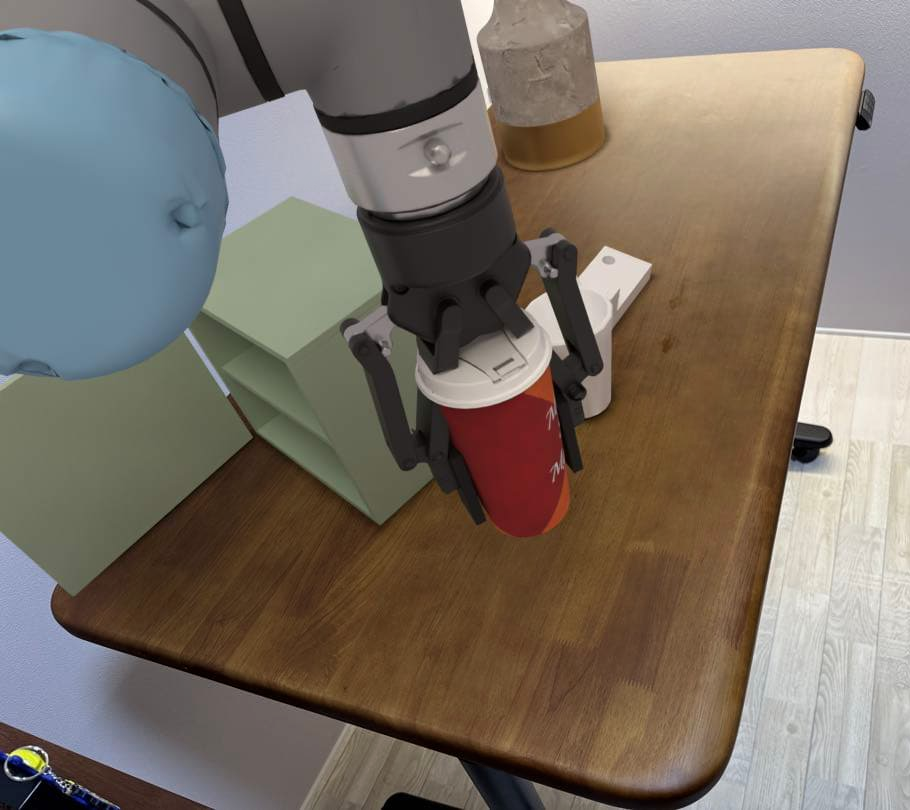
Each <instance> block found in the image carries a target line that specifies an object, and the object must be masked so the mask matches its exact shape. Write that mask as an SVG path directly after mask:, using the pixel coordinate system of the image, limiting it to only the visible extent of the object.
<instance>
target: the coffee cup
mask: <svg viewBox="0 0 910 810" xmlns="http://www.w3.org/2000/svg"><path fill="white" fill-rule="evenodd" d="M520 309H521V310H522V311H523V312H524V314H525V315H526V316H527V317H528V318H529V320H530V321H531V322H532V323H533V325H534V326H535V327H533V328H531V329H529V330H527V331H526V332H525V333H524V334H523V335H522V336H521V337H519V338H518V339H517V338H516V336H515V335H514V334H513V333H512V332H511V331H510V330H509V329H508V327H507V326H506V325H505V324H504V328H502V329H499V330H497V331H495V332H493V333H489V334H485V335H480V336H478V337H477V338H476V339H474V340H473V341H472V342H470V343H469V344H468V345H466V346H464V347H462V348H459V357H458V367H457V369H451V370H446V371H443V372H440V373H438V374H435V375H433V374H432V372H431V371H430V369H429V368H428V366H427V365H426V364H425V362H424V361H423V359H422V358H421V356H420V355H419V350H418V351H417V364H416V370H415V377H416V382H417V385H418V387H419V389H420V390H421V392H422V393H423V394H424V395H425V396H426V397H427V398H429V399H430V400H432V401H434V402H435V403H438V404H439V406H440V408H441V411H442V413H443V415H444V417H445V419H446V421H447V423H448V425H449V427H450V433H449V438H450V441H451V443H452V444H453V446H454V447H455V448H456V449H457V450H458V451H459V452H460V454H461V455H462V457H463V460H464V463H465V465H466V468H467V470H468V473H469V476H470V478H471V481H472V483H473V486H474V489H475V491H476V494H477V496H478V499H479V502H480V504H481V507H482V509H483V511H484V513H485V514H486V516H487V517H488V519H489V521H490V523H491V524H492V525H493V526H494V528H495V529H496V530H498V531H499V532H501V533H502V534H504V535H507V536H510V537H512V538H532V537H537V536H541V535H543V534H544V533H547V532H549V531H550V530H552V529H553V528H555V527H556V526H557V525H559V523H560V522H561V521H562V520H563V519H564V518H565V516H566V514H567V513H568V510H569V507H570V502H571V494H570V484H569V477H568V470H567V464H566V463H565V456H564V450H563V444H562V438H561V432H560V425H559V419H558V413H557V407H556V401H555V395H554V389H553V383H552V377H551V371H550V365H549V362H550V359H551V355H552V343H551V340H550V337H549V335H548V334H547V332H546V331H545V330H544V329H543V328H542V327H541V326H540V325H539V324H538V322H537V321H536V319H535V318H534V317H533V316H532V315H531V314H530V313H529V312H527V311H526V310H525V309H524V308H522V307H520ZM418 369H419V372H418ZM432 392H433V393H432Z"/></svg>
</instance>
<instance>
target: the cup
mask: <svg viewBox="0 0 910 810" xmlns="http://www.w3.org/2000/svg"><path fill="white" fill-rule="evenodd" d="M578 287H579V290H580V293H581V296H582V299H583V302H584V305H585V308H586V311H587V314H588V317H589V320H590V324H591V327H592V330H593V333H594V336H595V339H596V342H597V345H598V348H599V351H600V354H601V357H602V360H603V364H604V367H603V370H602V371H601V373H600V374H598V375H596V376H588V377H586V378H585V379H584V380H583V381H582V383H581V384H582V385H583V386H584V387H585V388H586V390H587V394H586V397H585V398H584V399H583V400H582V406H583V411H584V415H585V418H584V419H589V418H592V417H595V416H597V415H599V414H601V413H602V412H603V411H605V410H606V409H607V408H608V406H609V405H610V403H611V400H612V336H613V335H612V334H613V333H612V331H613V329H612V325H613V306H612V303H611V302H610V300H609V299H608V297H607V296H606V295H605V294H603V293H601V292H599V291H597V290H595V289H593V288H588V287H581V286H578ZM524 310H526V311H527V312H529V313H530V314H531V315H532V316H533V317H534V318H535V319H536V321H537V322H538V324H539V325H540V326H541V327H542V328H543V329H544V330H545V331H546V332H547V334H548V335H549V337H550V340H551V343H552V349H553V350H554V351H555V352H556V353H557V355H558V356H559V357H560V358H561V360H563V359H565V358H566V357H567V356H568V355H569V352H568V350H567V347H566V344H565V341H564V339H563V336H562V333H561V330H560V328H559V325H558V322H557V319H556V317H555V314H554V311H553V308H552V306H551V303H550V300H549V297H548V295H547V292H546V291H545V292H544V293H542V294H541V295H539V296H538V297H536V298H534V299H533V300H532V301H531V302H529V304H528V305H527V307H526V308H525V309H524Z"/></svg>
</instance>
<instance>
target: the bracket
mask: <svg viewBox="0 0 910 810" xmlns="http://www.w3.org/2000/svg"><path fill="white" fill-rule="evenodd" d="M652 268H653V263H651V262H648V261H645V260H642V259H640V258H638V257H636V256H635V257H634V256H633V255H630V254H627V253H625V252H623V251H619V250H617V249H615V248H612V247H610V246H607V245H604V246H603V247H602V248H601V250H600V251H599V252H598V254H596V256H595V257H594V258H593V259H592V261H591V262H590V263H589V264H588V265H587V266H586V267H585V269H584V270H583V271H582V272H581V274H580V275H579V276H578V274H577V275H576V280H577V283H578V286H581V287H588V288H593V289H595V290H597V291H599V292H601V293H603V294H605V295H606V296H607V297H608V299H609V300H610V302H611V303H612V306H613V325H612V330H613V329H614V327H616V325H617V323H618V322H619V321H620V319H621V318H622V317H623V316H624V314H625V313H626V312H627V310H628V309H629V307H630V306H631V305H632V303H633V302H634V301H635V299H636V298H637V297H638V295H639V294H640V293H641V291H642V290H643V289H644V287H645V286H646V285H647V283H648V282H649V281H650V279H651V274H652Z"/></svg>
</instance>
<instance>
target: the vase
mask: <svg viewBox="0 0 910 810" xmlns="http://www.w3.org/2000/svg"><path fill="white" fill-rule="evenodd" d="M590 29H591V28H590V21H589V15H588V12H587V10H585V8H584V7H582V6H581V5H578V4H575V3H572V2H570V1H569V0H493V7H492V13H491V15H490V18H489V19H488V21H487V22H486V23H485V24H484V25H483V27H481V29H480V30H479V31H478V33H477V35H476V45H477V48H478V53H479V58H480V62H481V65H482V69H483V74H484V77H485V81H486V85H487V89H488V94H489V97H490V101H491V106H492V110H493V113H494V118H495V122H496V126H497V130H498V134H499V138H500V142H501V146H502V151H503V154H504V158H505V161H506V162H507V164H509V166H511V167H513V168H515V169H518V170H523V171H527V172H547V171H554V170H559V169H562V168H563V169H564V168H568V167H570V166H574V165H576V164H579V163H581V162H583V161H585V160H587V159H589V158H591V157H592V156H593V155H594V154H596V153H597V152H598V151H599V150H600V149H601V148H602V147H603V146H604V144H605V142H606V139H607V138H606V130H605V124H604V117H603V116H604V115H603V110H602V102H601V97H600V89H599V82H598V77H597V68H596V62H595V54H594V49H593V43H592V42H593V41H592V35H591V30H590Z"/></svg>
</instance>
